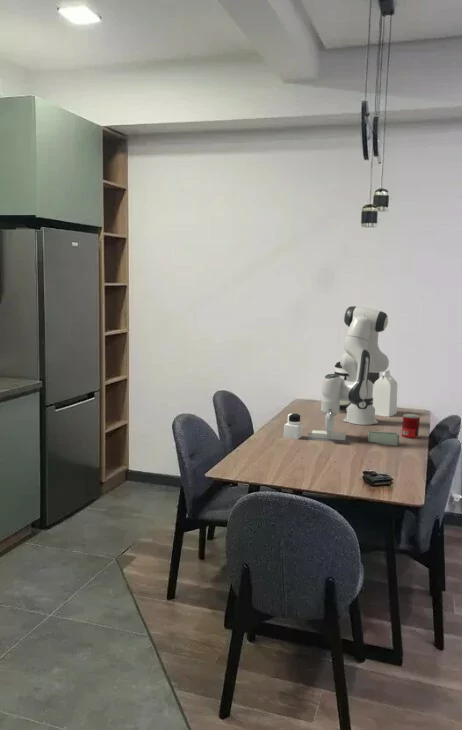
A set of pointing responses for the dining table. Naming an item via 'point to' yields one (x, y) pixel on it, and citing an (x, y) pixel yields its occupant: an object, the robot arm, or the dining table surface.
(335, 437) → the lid
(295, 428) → the medicine bottle
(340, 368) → the coffee press
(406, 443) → the dining table surface
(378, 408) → the milk
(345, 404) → the apothecary jar
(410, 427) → the canned food
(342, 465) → the dining table surface
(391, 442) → the pale green open box
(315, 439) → the mat
